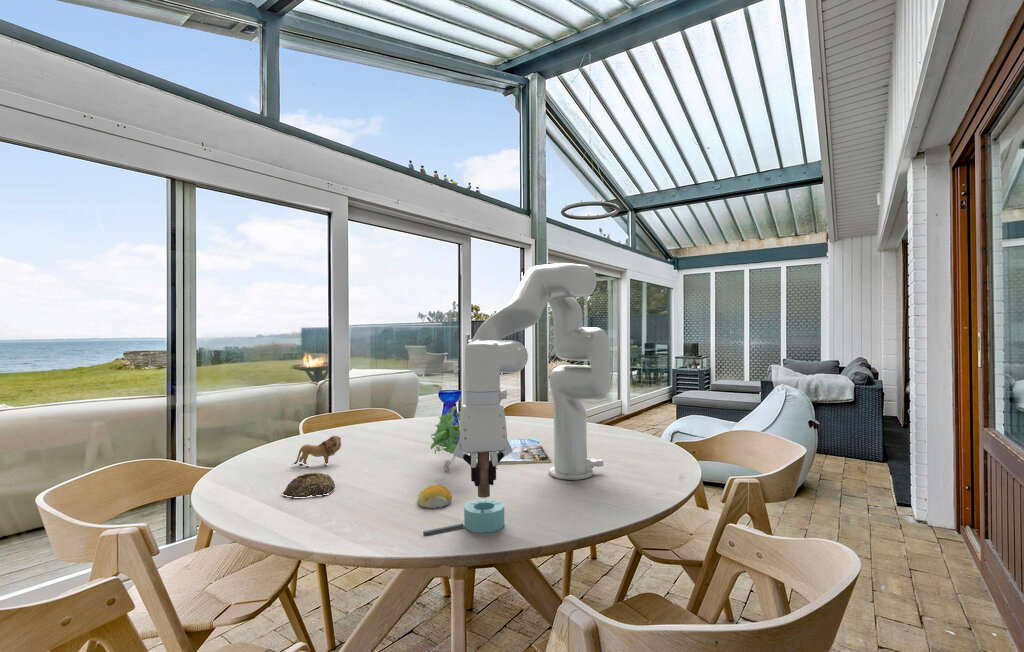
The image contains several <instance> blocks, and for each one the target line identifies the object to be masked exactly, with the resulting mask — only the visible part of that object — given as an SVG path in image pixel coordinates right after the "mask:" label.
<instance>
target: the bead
mask: <svg viewBox="0 0 1024 652" xmlns="http://www.w3.org/2000/svg"><path fill="white" fill-rule="evenodd" d="M463 511H464V512H463V516H464V520H463V522H464V523H463V525H464V529H465V530H467V531H469V532H471V533H478V534H485V532H487V533H494V532H497V531H499V530H501V529H502V528H504V526H505V505H504V503H503V502H501V501H499V500H497V499H487V498H485V499H484V498H483V499H475V500H472V501H468V502H467V503H466V504H465V505H464V506H463ZM496 530H497V531H496ZM493 531H494V532H493Z"/></svg>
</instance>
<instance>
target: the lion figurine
mask: <svg viewBox="0 0 1024 652" xmlns="http://www.w3.org/2000/svg"><path fill="white" fill-rule="evenodd" d="M341 447H342V440H341V436H339V435H332V436H330V437H329V438H328V439H326V440H324V441H322V442H321V443H320V444H318V445H315V444H308V443H307V444H304V445H302V446H300V449H299V451H298V454H297V457H296V458H297V459H296V461H294V463H293V464H296V465H297V463H299V462H302V463H304V464H307V465H308V463H307V460H308V458H309V455H311V456H313V457H316V458H321V457H323V459H324V461H325V462H324V464H325V463H326V464H327V463H328V462H329V458H330V457H331V456H334V455H335V454H336V453H337V452H338V451H340V449H341ZM301 453H302V454H301ZM304 464H303V465H304Z"/></svg>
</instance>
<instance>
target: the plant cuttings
mask: <svg viewBox="0 0 1024 652" xmlns="http://www.w3.org/2000/svg"><path fill="white" fill-rule="evenodd" d="M457 408H458V407H457V406H456V405H455V406H453V407H451V408H449V409H448V410H447V412H446V413H445V414H443V415H441V416H438V418H439V422H438V424H434V426H435V427H436V428H437V429H436V430H435V432H434V433H431V435H430V437H431V439H432V441H433V442H432V444H431V445H430V450H432V449H434V454H435V455H436V454H437V452H441V451H442V450H443V451H444V452H446V453H448V454H449V453H450V454H451V455H452V454H453V457H452V458H451V460H450V459H446V460H445V461H444V465H443V469H444V470H445V471H447V470H448V469H450V465H451V464H452V463H453V461H454V460H455V459H456V456H455V455H454V451H455V448H456V446H457V444H458V442H459V425H460V413H461V410H460V411H457V412H456V413H455V411H456V410H457ZM454 415H456V418H455V416H454ZM456 420H457V421H459V422H458V423H457V422H456ZM462 452H463V451H462ZM496 470H498V467H496Z"/></svg>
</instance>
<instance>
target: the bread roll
mask: <svg viewBox="0 0 1024 652" xmlns="http://www.w3.org/2000/svg"><path fill="white" fill-rule="evenodd" d="M452 500H453V496H452V494H451V491H450V490H449V489H448V488H447V487H446V486H445V485H442V484H441V485H440V484H432V485H429V486H426V487H425V488H424V489H423V490H421V491H420V492H419V494H418V496H417V502H418V504H419V506H421V507H422V508H425V507H426V508H425V509H437V508H436V507H440V508H443V506H445V507H447V506H448V505H450V504H451V502H452ZM449 503H450V504H449ZM446 505H447V506H446ZM434 507H435V508H434Z"/></svg>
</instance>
